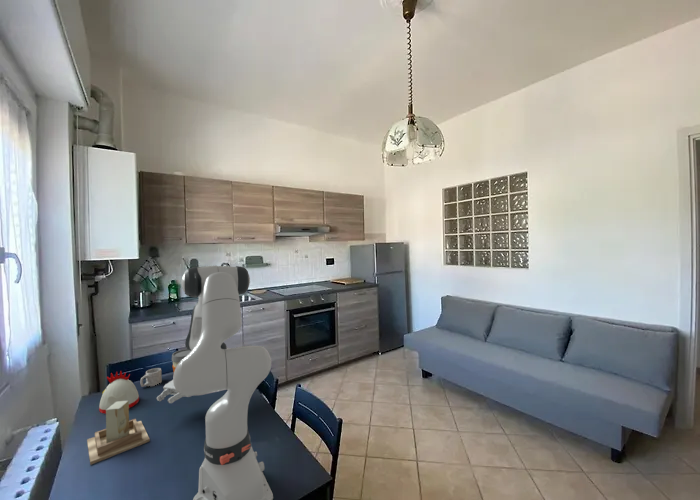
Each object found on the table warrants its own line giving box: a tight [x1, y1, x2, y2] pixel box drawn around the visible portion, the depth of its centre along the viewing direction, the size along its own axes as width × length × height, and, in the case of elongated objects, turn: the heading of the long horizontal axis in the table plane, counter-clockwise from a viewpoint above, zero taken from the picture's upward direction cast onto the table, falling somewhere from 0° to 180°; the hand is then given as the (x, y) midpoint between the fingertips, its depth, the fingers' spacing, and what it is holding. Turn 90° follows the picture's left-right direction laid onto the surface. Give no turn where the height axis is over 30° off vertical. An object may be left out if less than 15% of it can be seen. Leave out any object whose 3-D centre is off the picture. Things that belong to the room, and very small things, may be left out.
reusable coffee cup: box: [171, 348, 191, 373], centre depth 155 cm, size 13×13×15 cm
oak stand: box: [86, 417, 151, 466], centre depth 107 cm, size 16×16×4 cm
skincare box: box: [105, 401, 130, 443], centre depth 107 cm, size 6×4×12 cm
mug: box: [139, 367, 163, 388], centre depth 152 cm, size 10×7×7 cm, turn 159°
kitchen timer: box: [98, 370, 140, 415], centre depth 133 cm, size 14×14×15 cm
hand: (163, 400), depth 113 cm, fingers open, 8 cm apart
